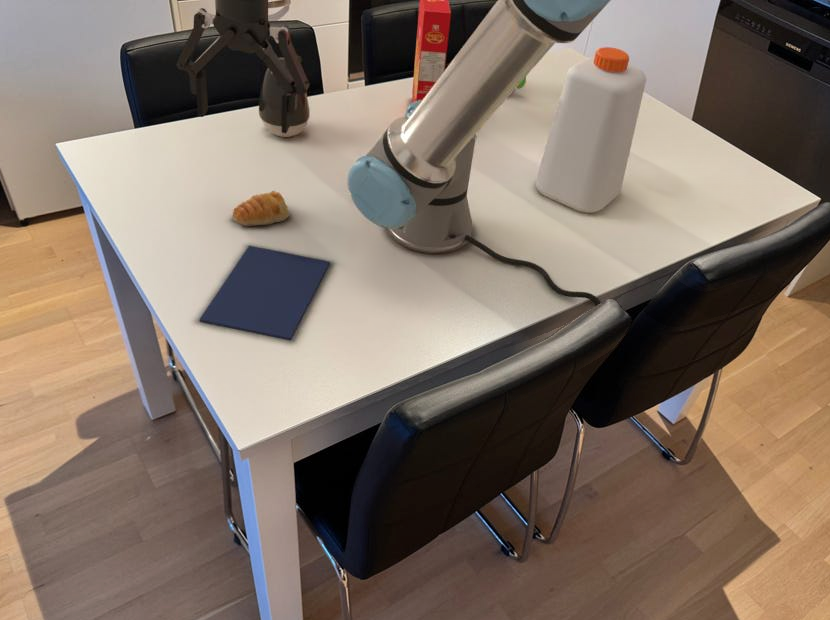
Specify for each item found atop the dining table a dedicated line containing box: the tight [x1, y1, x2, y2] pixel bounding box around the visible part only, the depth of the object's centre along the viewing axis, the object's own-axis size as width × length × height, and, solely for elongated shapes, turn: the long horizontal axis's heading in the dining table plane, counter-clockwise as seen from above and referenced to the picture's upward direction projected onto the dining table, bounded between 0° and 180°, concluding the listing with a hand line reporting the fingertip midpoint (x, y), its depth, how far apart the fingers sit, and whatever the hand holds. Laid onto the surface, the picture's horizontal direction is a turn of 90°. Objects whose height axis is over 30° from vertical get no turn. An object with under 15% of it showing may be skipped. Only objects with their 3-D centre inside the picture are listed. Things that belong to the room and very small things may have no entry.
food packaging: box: [411, 0, 452, 103], centre depth 159 cm, size 15×5×25 cm, turn 4°
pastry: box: [232, 190, 290, 227], centre depth 130 cm, size 9×7×4 cm
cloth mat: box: [199, 245, 331, 341], centre depth 116 cm, size 14×20×1 cm
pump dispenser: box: [258, 55, 311, 138], centre depth 150 cm, size 10×10×15 cm
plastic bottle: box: [535, 46, 647, 214], centre depth 141 cm, size 15×15×28 cm
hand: (244, 121), depth 121 cm, fingers open, 13 cm apart
